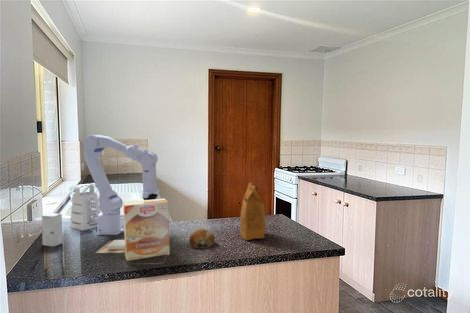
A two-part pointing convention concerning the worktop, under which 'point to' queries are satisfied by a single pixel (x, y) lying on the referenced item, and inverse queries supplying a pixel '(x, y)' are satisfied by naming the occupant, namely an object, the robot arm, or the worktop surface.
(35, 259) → the worktop surface
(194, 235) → the bread roll
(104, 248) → the mat
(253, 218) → the coffee package
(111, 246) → the tile
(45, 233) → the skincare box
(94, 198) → the grater
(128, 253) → the coffeecake box
